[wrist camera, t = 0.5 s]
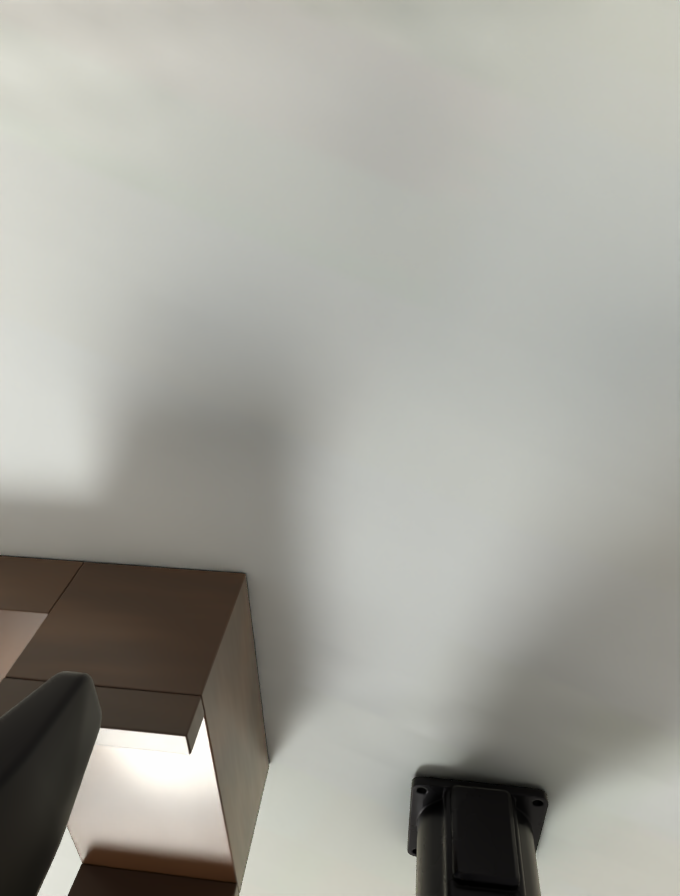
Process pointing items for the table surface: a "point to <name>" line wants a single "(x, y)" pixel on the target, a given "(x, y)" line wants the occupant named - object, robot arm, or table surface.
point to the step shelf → (148, 716)
